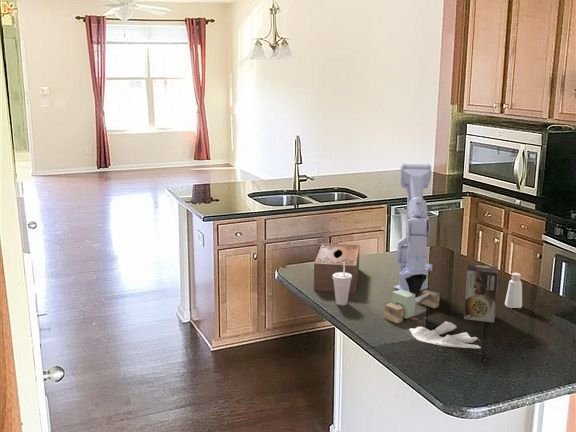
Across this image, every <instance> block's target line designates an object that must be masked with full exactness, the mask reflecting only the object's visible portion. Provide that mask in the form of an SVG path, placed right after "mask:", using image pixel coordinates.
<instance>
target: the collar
mask: <svg viewBox="0 0 576 432" xmlns="http://www.w3.org/2000/svg"><path fill="white" fill-rule="evenodd" d="M391 303H392V304H394V305H398V304H402V305H403V319H410V318H409V317H414V316H415V308H416V307H415V306H416V305H415V294H413V293H411V292H408V291H405V290H402V289H400V290H399V289H396V290H395V291H392V296H391Z"/></svg>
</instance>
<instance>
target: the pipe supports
mask: <svg viewBox="0 0 576 432" xmlns="http://www.w3.org/2000/svg"><path fill="white" fill-rule="evenodd" d="M421 292H422V293H421V295H424V294H427V293H429V294H430V295H431V298H430V299H429V300H426V301H424V302H421V303H420V304H421V305H423V304H424V306H425V307H429V308H432V309H436V308H439V306H440V293H439V292H436V291H432V290H429V289H423V290H421ZM390 307H391V308H392V309H394V310H391V308H390ZM389 309H390V310H389ZM393 311H394V313H393ZM391 312H392V313H393V314H391ZM384 319H385V320H388V321H390V322H393V323H396V324H399V323H401V322H403V320H404V318H403V307H400V306H397V305H394V304H392V302H389V303H387V304H384ZM408 319H410V320H414V321H416V322H417V321H419V318H415V317H414V316H412V317H409V318H408Z"/></svg>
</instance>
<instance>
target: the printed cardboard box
mask: <svg viewBox="0 0 576 432" xmlns="http://www.w3.org/2000/svg"><path fill="white" fill-rule="evenodd" d="M498 275H499V267H498V266H494V265H493V266H492V265H482V264H481V265H480V264H470V263H469V264H467V268H466V281H465V282H466V284H465V299H464V313H463V314H464V315H463V320H469V321H477V322H487V323H492V324H493V323H495V321H496V320H495V317H496V308H497V307H496V305H497V304H496V303H497V291H498V277H499V276H498Z"/></svg>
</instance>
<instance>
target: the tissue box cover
mask: <svg viewBox="0 0 576 432" xmlns="http://www.w3.org/2000/svg"><path fill="white" fill-rule="evenodd" d="M360 247H361V246H360V244H350V243H349V244H348V243H347V244H345V243H325V242H323V243H322V242H321V244H320V247H319V250H318V252H317V255H316V257H315V260H314V263H313V291H317V292H318V291H320V292H335V290H334V280H333V278H332V277H333V274H334V273H338V272H343V262H345V273H349V274H351V275H352V279H351V282H350V288H349V293H354V294H356V291H357V285H358V276H359V271H360V270H359V269H360Z"/></svg>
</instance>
